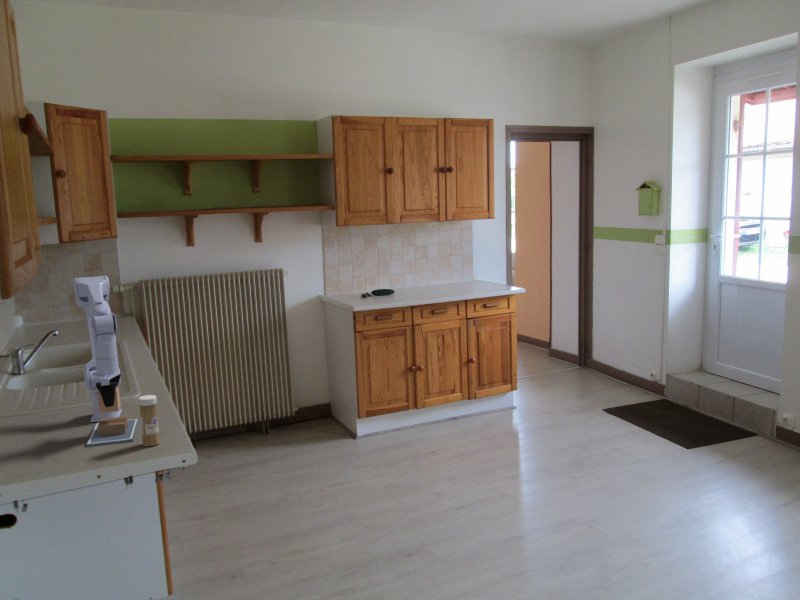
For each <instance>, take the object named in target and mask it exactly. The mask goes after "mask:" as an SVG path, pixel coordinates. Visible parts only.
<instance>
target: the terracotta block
mask: <svg viewBox="0 0 800 600" xmlns="http://www.w3.org/2000/svg"><path fill="white" fill-rule="evenodd" d="M119 387H120V386H116V390H115V398H114V405H113V406H111V407H105V405H104V402H103V399H102V396H101V394H100V392H99V390H98V392H97V396H98V405H99V413H107V412H116V411H119V409H121V406H122V405H121V404H122V403H121V398H120V389H119Z"/></svg>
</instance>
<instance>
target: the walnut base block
mask: <svg viewBox="0 0 800 600" xmlns="http://www.w3.org/2000/svg"><path fill="white" fill-rule="evenodd" d="M128 420H129V419H128V415H125V416H124V415H123V416H120V417H112V418H103V419H101V420H100V421H99V422H98V423H99V425H98V435H99V437H101V436H109V435H118V434H125V433H126V430H127V427H128Z"/></svg>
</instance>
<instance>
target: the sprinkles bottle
mask: <svg viewBox="0 0 800 600" xmlns="http://www.w3.org/2000/svg"><path fill="white" fill-rule="evenodd" d="M138 407H139V414H140V416H139V417H140V419H139V421H140V428H141V430H140V431H141V438H142V445H143V446H144V447H154V446H157V445H159V444H160V443H161V440H160V436H159V435H160V433H159V431H160V430H159V421H158V412H157V411H158V410H157V409H158V408H157V395H154V394H145V395H142V396H139V397H138Z"/></svg>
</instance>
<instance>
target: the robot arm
mask: <svg viewBox="0 0 800 600" xmlns="http://www.w3.org/2000/svg"><path fill="white" fill-rule="evenodd" d="M72 284H73V287H72V288H73V292H74V299H75V303H76V305H77V307H80V308H82V309H83V310H84V313H85V316H86V322H87V329H88V336H89V343H90V351H91V359H90V360H89V361H88V362H87V363H86V364H85V365H84V367H83V379H84V385H85V389H86V390H87V391H89V392H90V396H91V406H92V417H91V419H90V420H89V421H90V423H94V422H95V423H96V422H97V423H99V422H100V420H101V419H103V418H112V417H121V414H122V412H123V408H120V409H119V411H116V412H107V413H99V405H98V396H97V392H98V390H99V392H100V394H101V396H102V399H103V402H104V405H105V407H111V406H113V405H114V398H115V390H116V386H119V387H120V386H121V384H122V374H121V370H120V367H119V359H118V357H119V356H118V348H117V347H118V345H117V339H116V338H117V337H116V334H117V333H118V323H117V317H116V315H115V313H113V312H112V310H111V308H110V304H109V300H110V293H111V286H110V279H109V277H108V276H107V275H99V276H85V277H84V276H83V277H74V278H73V280H72Z"/></svg>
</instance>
